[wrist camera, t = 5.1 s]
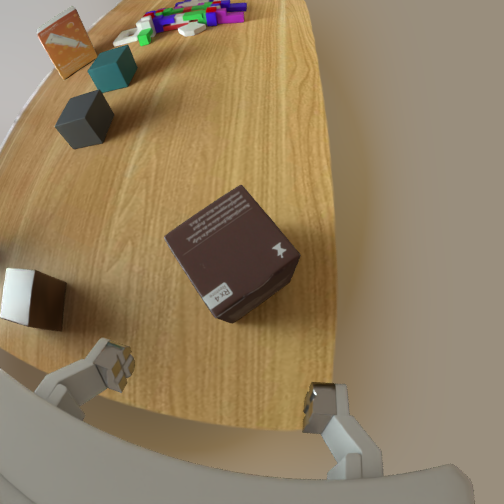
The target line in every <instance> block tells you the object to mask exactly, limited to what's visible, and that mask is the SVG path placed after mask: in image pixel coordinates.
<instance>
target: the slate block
mask: <svg viewBox="0 0 504 504" xmlns="http://www.w3.org/2000/svg"><path fill="white" fill-rule="evenodd" d="M113 117H114V113H113V111H112V110H111V108H110V106H109V104H108V103H107V101H106V99H105V97H104V96H103V94H102V92H101V90H100V89H99V90H96V91H92V92H89V93H86V94H83V95H79V96H76V97H73V98H70V100H69V101H68V103H67V105H66V106H65V108H64V110H63V112H62V114H61V116H60V117H59V119H58V121H57V123H56V125H55V128H56V129H57V130H58V131H59V133H60V134H61V135H62V136H63V137H64V139H65V140H66V141H67V142H68V143H69V145H70V146H71V147H72V148H73V149H77V148H82V147H86V146H91V145H96V144H101V143H103V142H104V139H105V137H106V134H107V132H108V129H109V127H110V124H111V122H112V120H113Z"/></svg>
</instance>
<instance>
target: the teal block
mask: <svg viewBox="0 0 504 504" xmlns="http://www.w3.org/2000/svg"><path fill="white" fill-rule="evenodd" d="M136 70H137V65H136V63H135V60H134V58H133V55H132V53H131V50H130V48H129V46H128V45H125V46H122V47H118V48H115V49H111V50H108V51H105V52H102V53H100V54H99V56H98V57H97V58H96V60H95V61H94V63H93V64H92V65H91V67H90V68H89V70H88V73H89V75H90V76H91V78H92V80H93V82H94V83H95V85H96V87H97V89H98V90H99V89H100V90H101V92H102V93H104V92H108V91H112V90H116V89H120V88H124V87H128V85H129V83H130V81H131V80H132V78H133V76H134V74H135V72H136Z"/></svg>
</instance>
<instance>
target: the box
mask: <svg viewBox="0 0 504 504" xmlns="http://www.w3.org/2000/svg"><path fill="white" fill-rule="evenodd" d="M164 239H165V241H166V242H167V244H168V246H169V248H170V249H171V251H172V253H173V254H174V256H175V257H176V259H177V261H178V262H179V264H180V265H181V267H182V268H183V270H184V271H185V273H186V275H187V276H188V278H189V279H190V281H191V282H192V284H193V286H194V287H195V289H196V290H197V292H198V293H199V295H200V296H201V298H202V299H203V301H204V302H205V304H206V305H207V307H208V309H209V310H210V311H211V313H212V314H213V316H214V317H215V318H218V319H220V320H223V321H226V322H229V323H234V322H236V321H237V320H239V319H240V318H241V317H243V316H244V315H246V314H247V313H248V312H250V311H251V310H253V309H254V308H255V307H257V306H258V305H260V304H261V303H263V302H264V301H265V300H267V299H268V298H269V297H271V296H272V295H273V294H275V293H276V292H277V291H279V290H280V289H281V288H282V287H284V286H285V285H287V284H288V283H289V282H290V280H291V278H292V276H293V274H294V271H295V268H296V266H297V264H298V261H299V259H300V256H301V255H300V253H299V252H298V251H297V250H296V249H295V248H294V246H293V245H292V244H291V243H290V242H289V240H288V239H287V238H286V237H285V235H284V234H283V233H282V232H281V231H280V229H279V228H278V227H277V226H276V225H275V223H274V222H273V221H272V220H271V218H270V217H269V216H268V215H267V214H266V213H265V212H264V210H263V209H262V208H261V207H260V206H259V204H258V203H257V202H256V201H255V200H254V198H253V197H252V196H251V195H250V194H249V193H248V191H247V190H246V189H245V188H244V187H243V186H242V185H239V186H238V187H236V188H235V189H233V190H231V191H230V192H228V193H227V194H225V195H224V196H222V197H220V198H219V199H217V200H216V201H214V202H213V203H212V204H210V205H208V206H207V207H205V208H204V209H202V210H201V211H199V212H198V213H197V214H195V215H194V216H192V217H191V218H189V219H188V220H186V221H185V222H183V223H182V224H181V225H179V226H178V227H176V228H175V229H174V230H172V231H171V232H169V233H168V234H167V235H165V236H164Z"/></svg>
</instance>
